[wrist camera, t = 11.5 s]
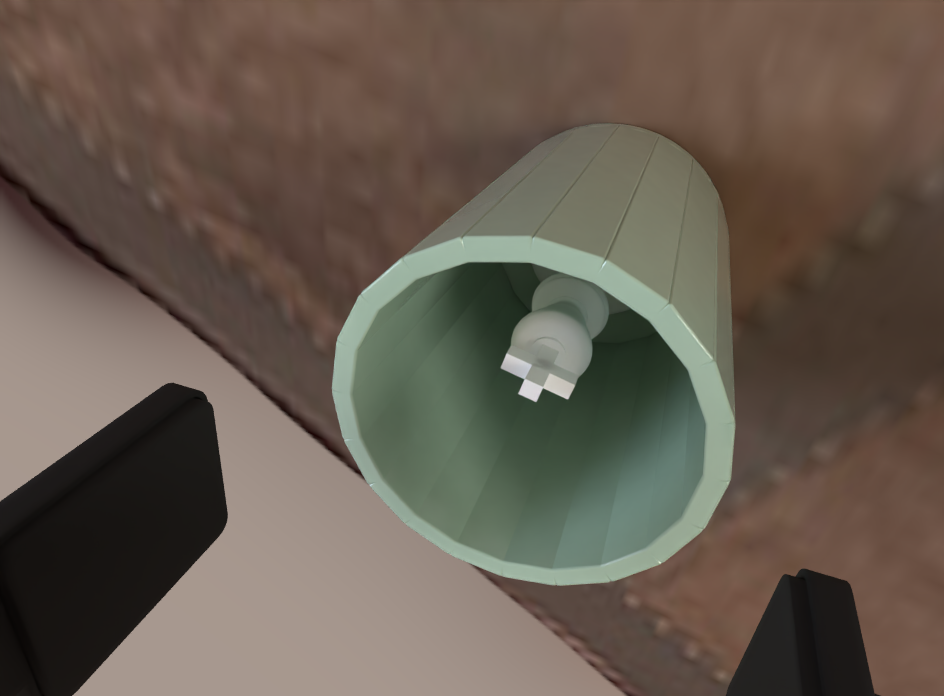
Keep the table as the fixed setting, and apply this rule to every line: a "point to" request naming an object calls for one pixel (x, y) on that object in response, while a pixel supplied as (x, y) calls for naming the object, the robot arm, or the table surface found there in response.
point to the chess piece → (558, 333)
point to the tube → (552, 417)
